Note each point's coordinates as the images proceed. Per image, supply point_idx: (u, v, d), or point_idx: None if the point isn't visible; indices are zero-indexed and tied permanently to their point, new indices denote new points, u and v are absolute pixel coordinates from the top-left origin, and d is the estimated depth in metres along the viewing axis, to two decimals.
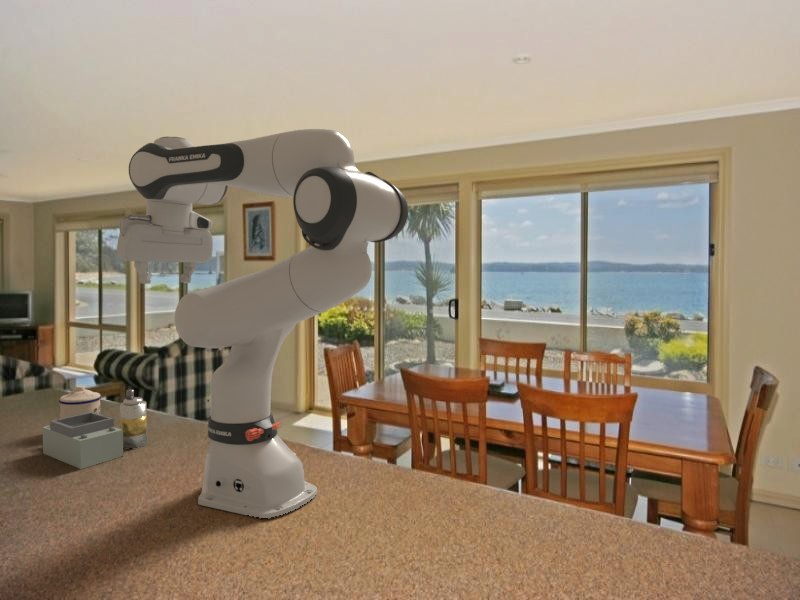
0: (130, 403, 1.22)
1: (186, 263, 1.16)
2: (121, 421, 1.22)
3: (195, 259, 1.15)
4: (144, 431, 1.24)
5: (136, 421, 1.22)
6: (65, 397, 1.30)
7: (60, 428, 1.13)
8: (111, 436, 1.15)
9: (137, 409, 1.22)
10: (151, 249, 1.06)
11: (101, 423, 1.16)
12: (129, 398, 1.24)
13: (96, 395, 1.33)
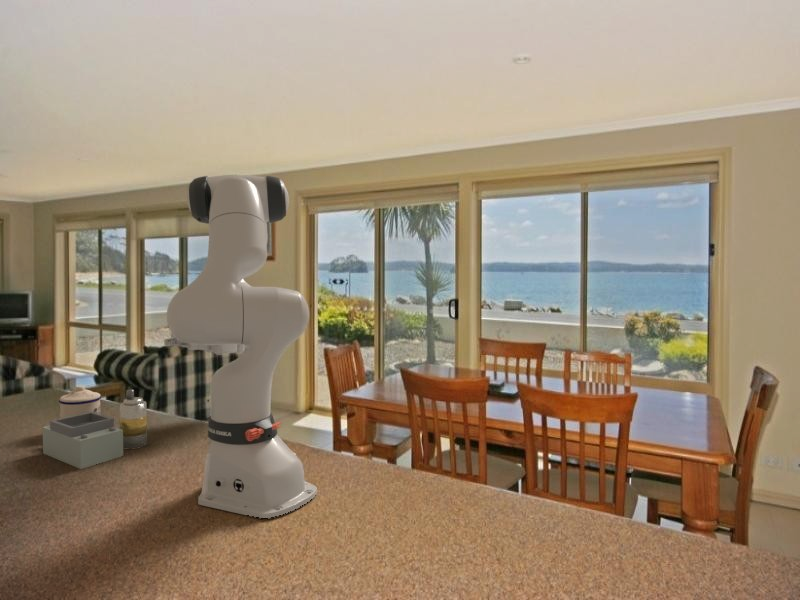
0: (130, 403, 1.22)
1: None
2: (122, 421, 1.22)
3: None
4: (144, 431, 1.24)
5: (136, 421, 1.22)
6: (65, 397, 1.30)
7: (60, 428, 1.13)
8: (111, 436, 1.15)
9: (137, 409, 1.22)
10: None
11: (101, 423, 1.16)
12: (129, 398, 1.24)
13: (96, 395, 1.33)
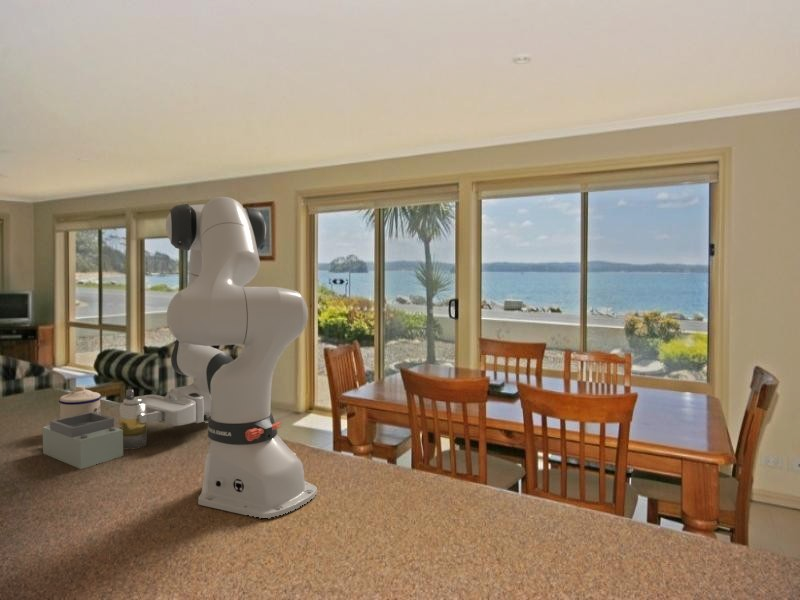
0: (130, 403, 1.22)
1: None
2: (121, 421, 1.22)
3: (165, 407, 1.25)
4: (144, 431, 1.24)
5: (136, 421, 1.22)
6: (65, 397, 1.30)
7: (60, 428, 1.13)
8: (111, 436, 1.15)
9: (137, 408, 1.22)
10: (146, 399, 1.32)
11: (101, 423, 1.16)
12: (129, 398, 1.24)
13: (96, 395, 1.33)
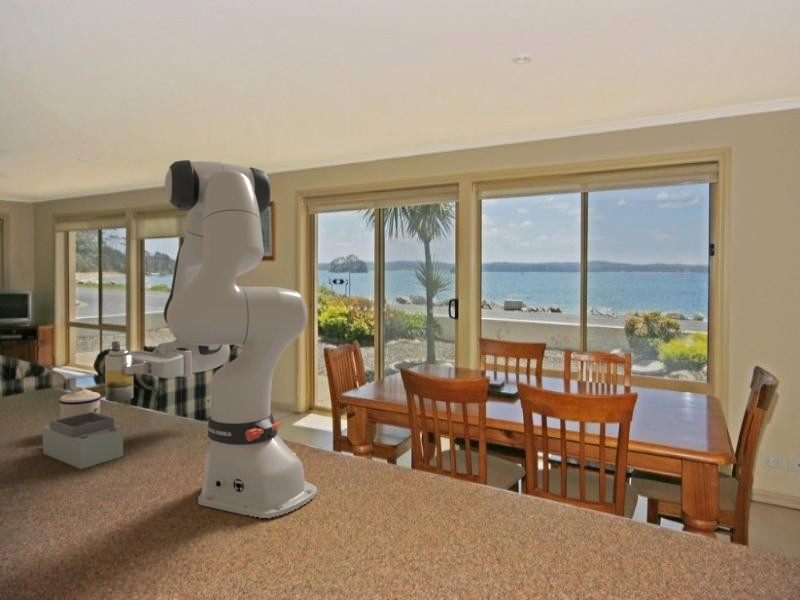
0: (115, 354, 1.19)
1: None
2: (107, 372, 1.19)
3: (151, 360, 1.22)
4: (130, 383, 1.21)
5: (122, 373, 1.19)
6: (65, 397, 1.30)
7: (60, 428, 1.13)
8: (111, 436, 1.15)
9: (123, 360, 1.19)
10: (133, 354, 1.29)
11: (101, 423, 1.16)
12: (115, 350, 1.21)
13: (96, 395, 1.33)
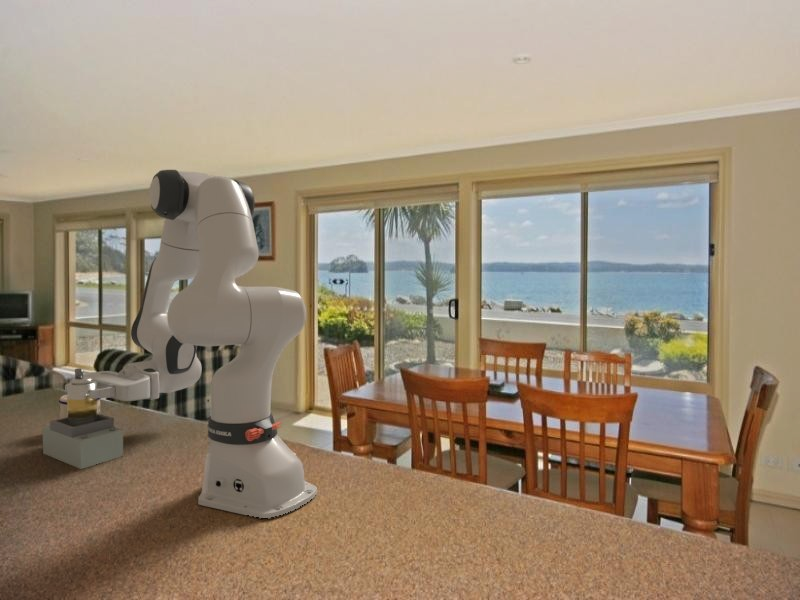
0: (78, 382, 1.15)
1: None
2: (69, 401, 1.14)
3: (116, 382, 1.17)
4: (94, 413, 1.17)
5: (85, 402, 1.15)
6: (65, 397, 1.30)
7: (60, 428, 1.13)
8: (111, 436, 1.15)
9: (86, 388, 1.15)
10: (99, 375, 1.24)
11: (101, 423, 1.16)
12: (78, 377, 1.16)
13: None
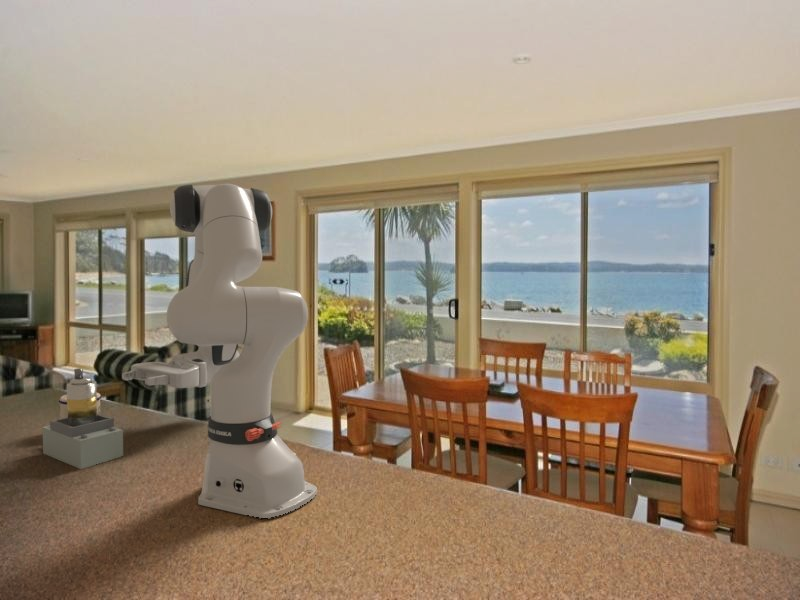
0: (78, 382, 1.15)
1: None
2: (68, 401, 1.14)
3: (169, 371, 1.28)
4: (93, 412, 1.17)
5: (84, 402, 1.15)
6: (65, 397, 1.30)
7: (60, 428, 1.13)
8: (111, 436, 1.15)
9: (85, 388, 1.15)
10: (150, 365, 1.35)
11: (101, 423, 1.16)
12: (77, 377, 1.16)
13: None
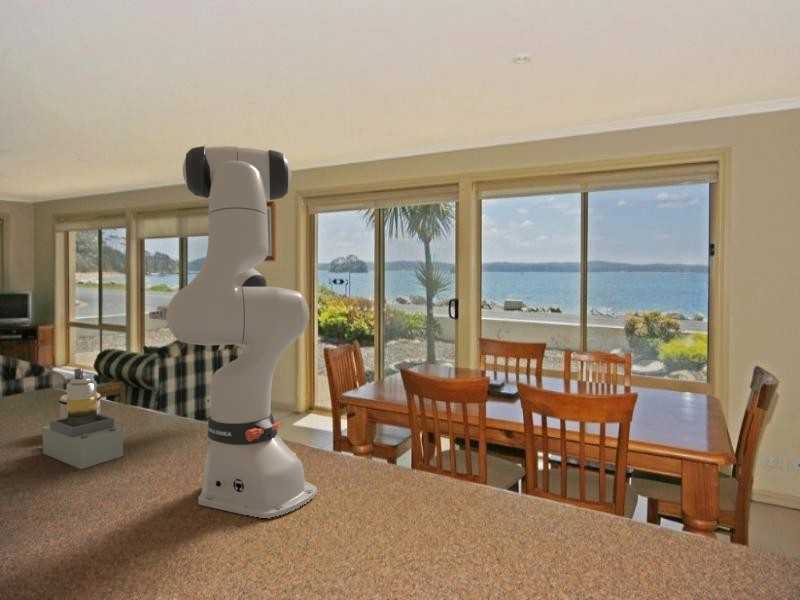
0: (78, 382, 1.15)
1: None
2: (68, 401, 1.14)
3: None
4: (93, 412, 1.17)
5: (84, 402, 1.15)
6: (65, 397, 1.30)
7: (60, 428, 1.13)
8: (111, 436, 1.15)
9: (85, 388, 1.15)
10: None
11: (101, 423, 1.16)
12: (77, 377, 1.16)
13: None
